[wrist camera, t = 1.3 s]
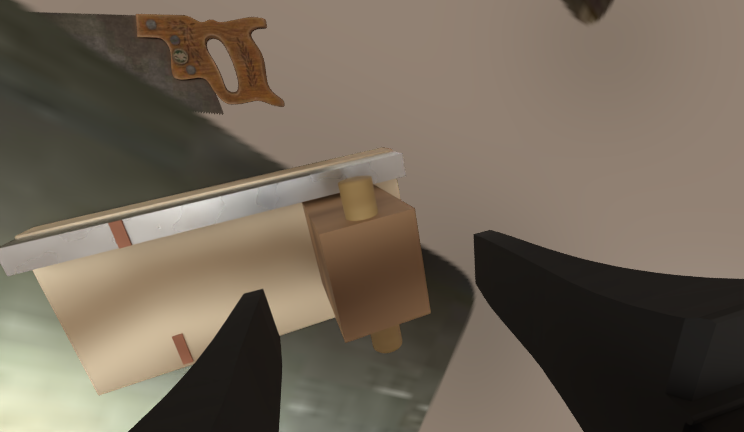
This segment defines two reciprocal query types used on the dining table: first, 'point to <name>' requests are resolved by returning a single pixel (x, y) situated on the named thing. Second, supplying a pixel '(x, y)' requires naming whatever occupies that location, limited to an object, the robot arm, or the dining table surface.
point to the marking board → (186, 266)
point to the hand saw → (177, 54)
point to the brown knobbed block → (368, 260)
